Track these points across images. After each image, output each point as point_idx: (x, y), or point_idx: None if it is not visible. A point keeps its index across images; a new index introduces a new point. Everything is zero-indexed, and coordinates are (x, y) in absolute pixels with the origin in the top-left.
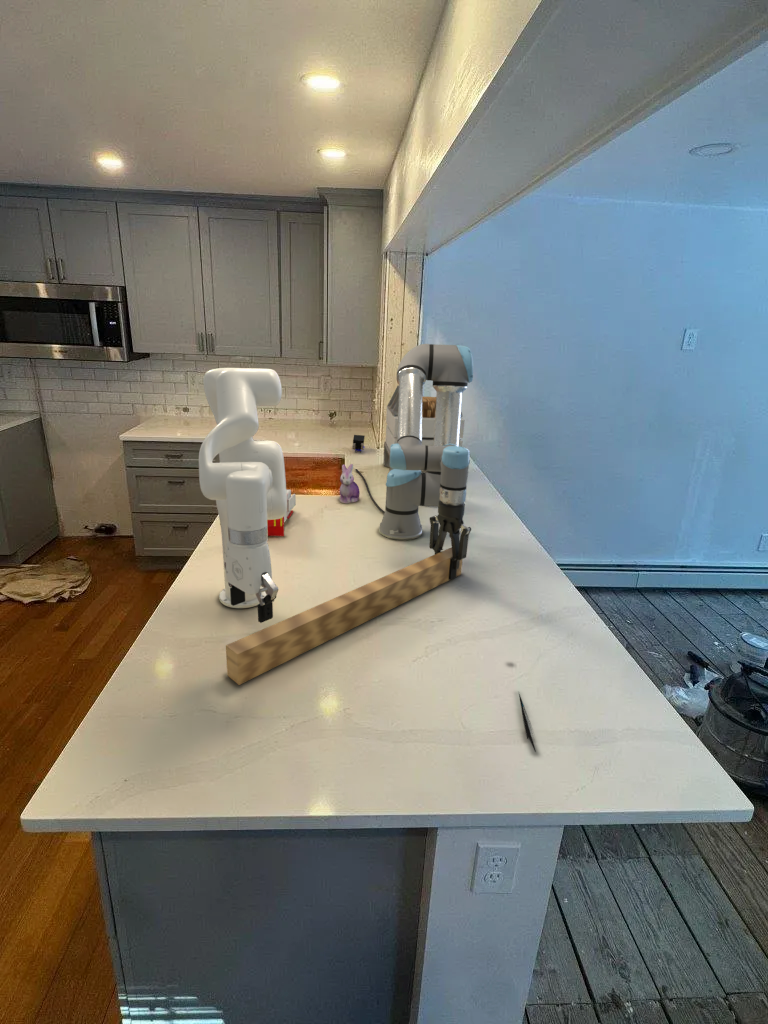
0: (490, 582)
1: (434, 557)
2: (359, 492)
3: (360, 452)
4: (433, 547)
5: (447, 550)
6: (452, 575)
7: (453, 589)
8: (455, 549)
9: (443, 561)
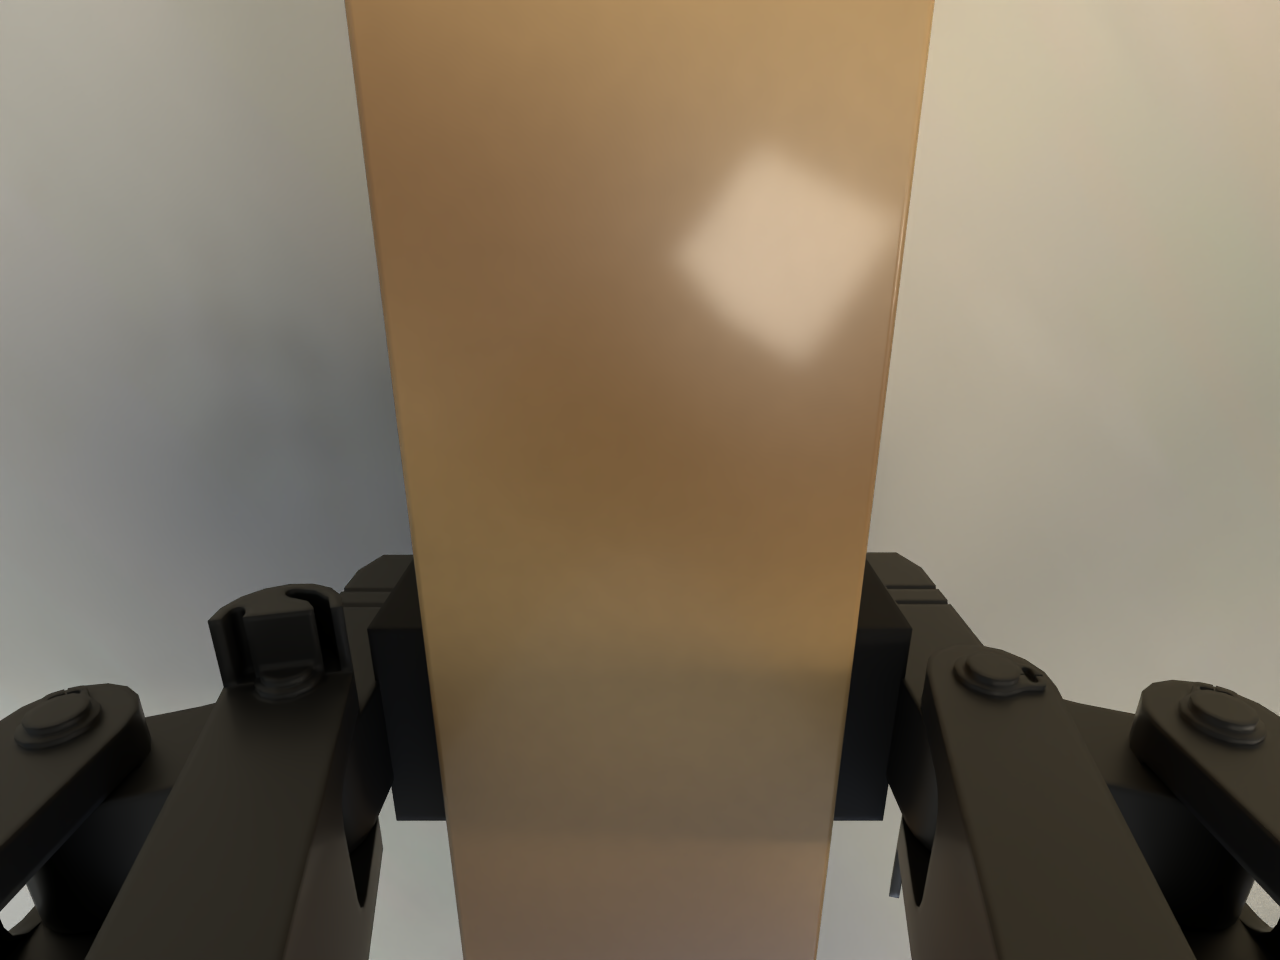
0: None
1: (747, 299)
2: None
3: None
4: (1129, 753)
5: (766, 899)
6: None
7: (289, 270)
8: (94, 947)
9: (394, 326)
